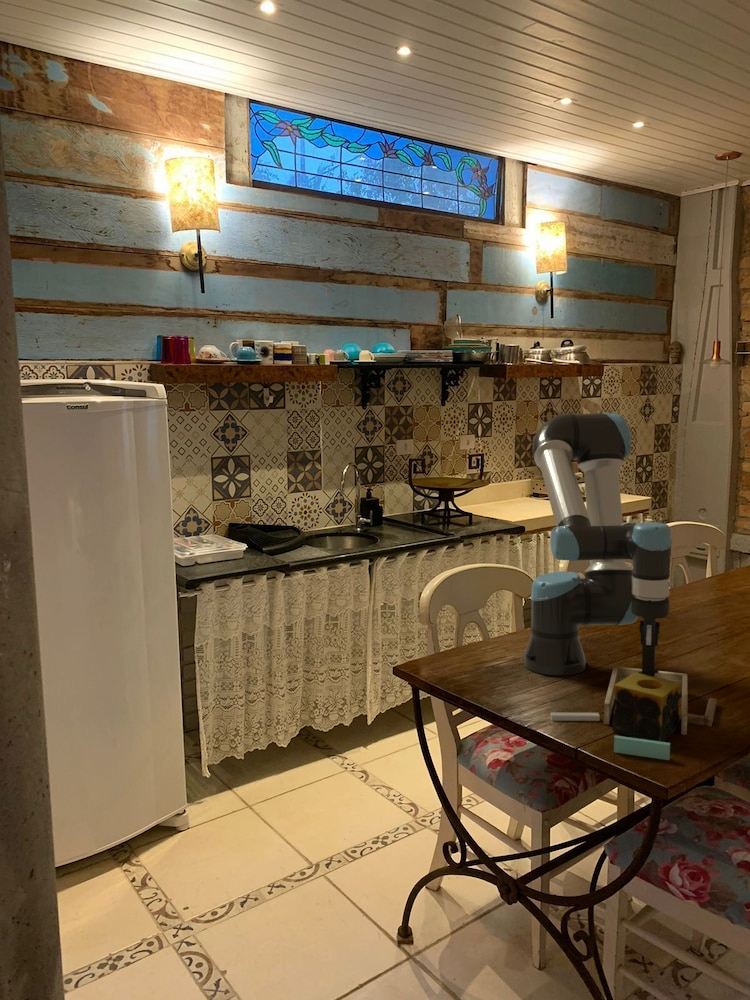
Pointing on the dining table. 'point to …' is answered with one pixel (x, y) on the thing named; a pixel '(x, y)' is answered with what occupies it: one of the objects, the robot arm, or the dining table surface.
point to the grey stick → (575, 716)
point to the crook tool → (708, 716)
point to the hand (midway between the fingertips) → (647, 703)
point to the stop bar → (642, 747)
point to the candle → (646, 707)
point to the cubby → (624, 672)
